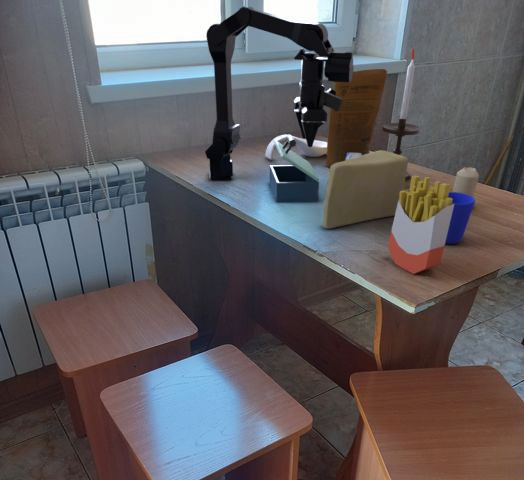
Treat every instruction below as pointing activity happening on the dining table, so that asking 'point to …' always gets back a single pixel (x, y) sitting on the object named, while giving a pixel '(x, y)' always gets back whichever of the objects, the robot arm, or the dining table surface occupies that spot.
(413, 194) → the french fries container
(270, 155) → the spoon rest
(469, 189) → the candle
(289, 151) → the lunchbox lid
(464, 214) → the mug
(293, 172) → the lunchbox
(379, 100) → the pancake mix bag
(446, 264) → the dining table surface
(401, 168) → the cheese
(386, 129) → the candlestick
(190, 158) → the dining table surface
